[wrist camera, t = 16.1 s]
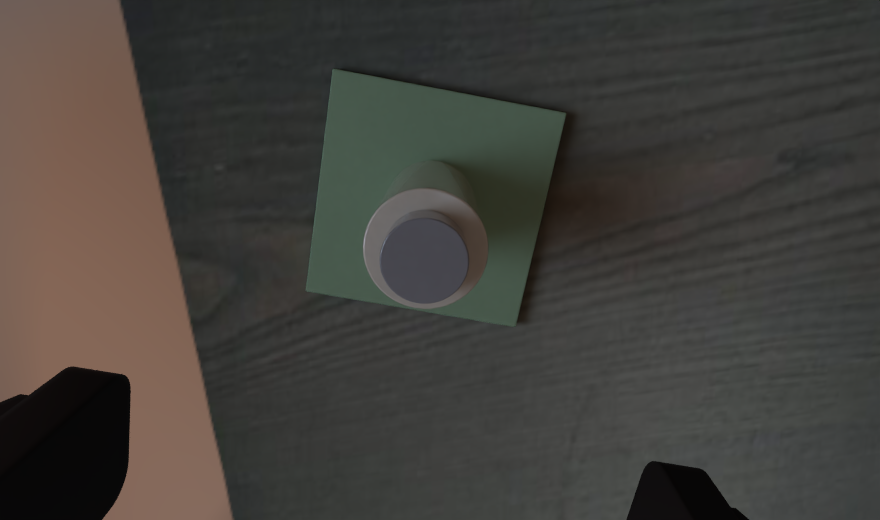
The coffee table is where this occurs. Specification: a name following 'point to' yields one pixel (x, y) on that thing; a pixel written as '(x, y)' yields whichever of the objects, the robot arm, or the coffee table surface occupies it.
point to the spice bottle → (426, 237)
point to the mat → (439, 139)
